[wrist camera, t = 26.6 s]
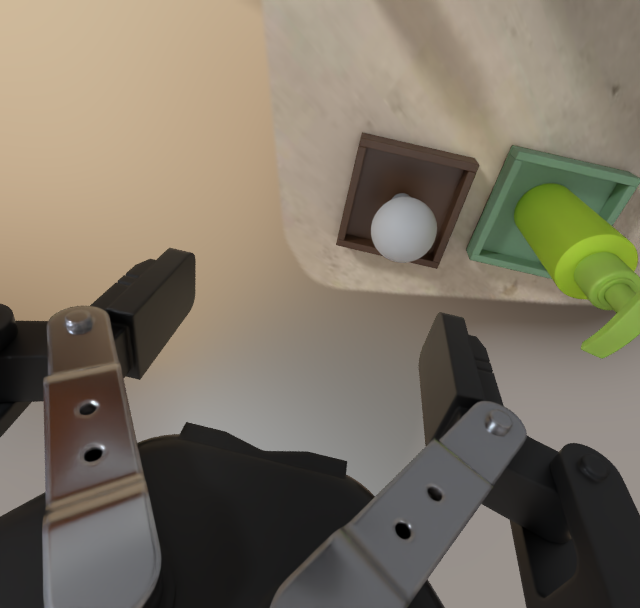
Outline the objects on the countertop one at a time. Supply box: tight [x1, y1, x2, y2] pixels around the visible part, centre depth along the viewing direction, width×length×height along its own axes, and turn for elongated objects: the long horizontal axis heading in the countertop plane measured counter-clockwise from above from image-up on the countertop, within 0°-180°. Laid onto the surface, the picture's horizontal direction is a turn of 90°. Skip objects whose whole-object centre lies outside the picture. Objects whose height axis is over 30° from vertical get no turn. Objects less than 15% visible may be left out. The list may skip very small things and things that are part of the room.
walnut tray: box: [336, 133, 479, 269], centre depth 44 cm, size 12×12×3 cm
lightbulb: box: [371, 193, 437, 263], centre depth 40 cm, size 6×6×11 cm
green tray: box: [466, 145, 640, 279], centre depth 43 cm, size 12×12×3 cm
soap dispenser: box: [514, 183, 640, 358], centre depth 35 cm, size 6×7×20 cm
